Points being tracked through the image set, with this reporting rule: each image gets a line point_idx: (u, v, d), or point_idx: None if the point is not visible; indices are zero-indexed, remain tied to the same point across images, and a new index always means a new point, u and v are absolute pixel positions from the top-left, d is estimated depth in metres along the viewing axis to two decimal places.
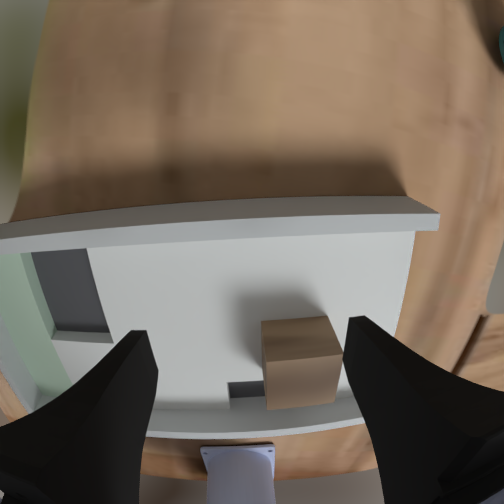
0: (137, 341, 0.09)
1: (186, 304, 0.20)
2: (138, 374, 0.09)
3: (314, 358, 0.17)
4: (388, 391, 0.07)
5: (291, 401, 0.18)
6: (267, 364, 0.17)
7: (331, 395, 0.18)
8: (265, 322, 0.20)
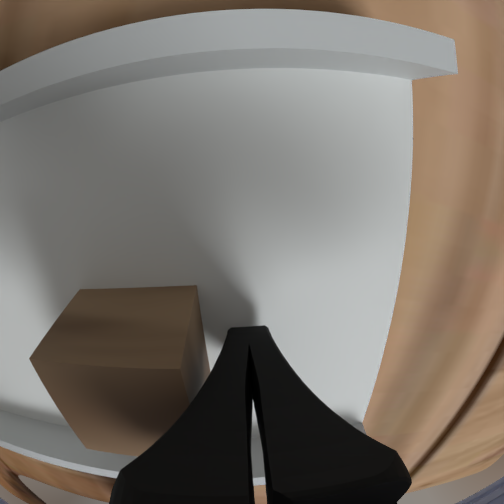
0: (248, 338, 0.09)
1: (10, 257, 0.10)
2: (250, 372, 0.09)
3: (111, 368, 0.07)
4: (260, 410, 0.07)
5: (117, 445, 0.08)
6: (33, 364, 0.07)
7: None
8: (84, 291, 0.10)
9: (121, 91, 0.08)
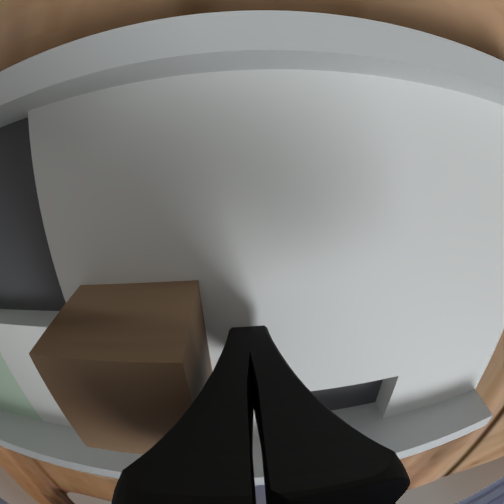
0: (249, 338, 0.09)
1: (211, 241, 0.10)
2: (251, 372, 0.09)
3: (112, 363, 0.07)
4: (258, 410, 0.07)
5: (118, 442, 0.08)
6: (32, 359, 0.07)
7: None
8: (84, 287, 0.10)
9: (393, 84, 0.08)
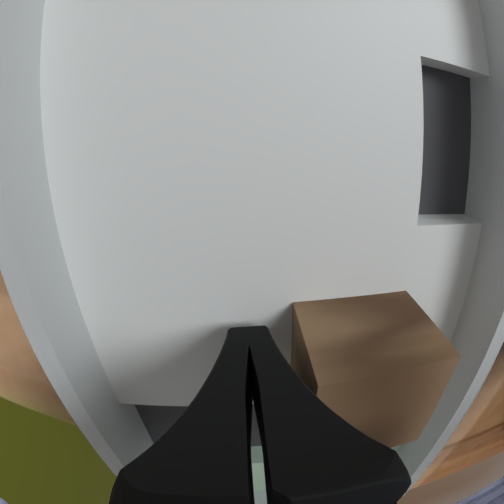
0: (248, 338, 0.09)
1: (210, 291, 0.10)
2: (249, 372, 0.09)
3: None
4: (259, 410, 0.07)
5: (415, 421, 0.08)
6: None
7: (438, 368, 0.07)
8: None
9: (47, 134, 0.08)
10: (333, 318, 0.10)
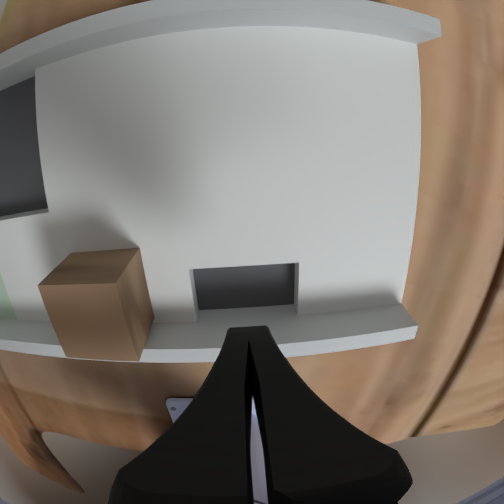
0: (247, 338, 0.09)
1: (135, 136, 0.14)
2: (249, 372, 0.09)
3: (82, 285, 0.13)
4: (260, 410, 0.07)
5: (85, 349, 0.14)
6: (39, 288, 0.12)
7: (129, 350, 0.14)
8: (73, 254, 0.16)
9: (252, 30, 0.12)
10: (137, 276, 0.16)
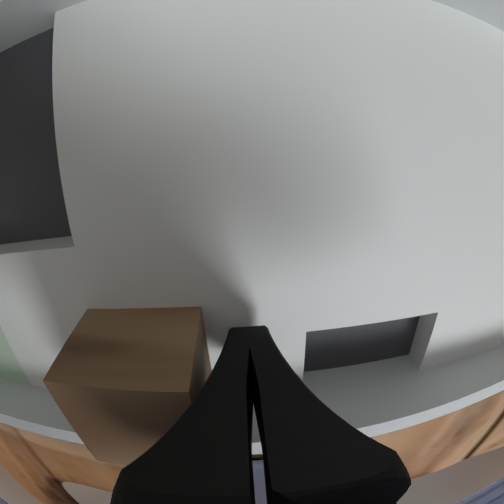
0: (248, 338, 0.09)
1: (242, 126, 0.09)
2: (250, 372, 0.09)
3: (123, 391, 0.07)
4: (259, 410, 0.07)
5: (127, 457, 0.08)
6: (46, 385, 0.07)
7: None
8: (91, 311, 0.10)
9: None
10: (202, 353, 0.10)
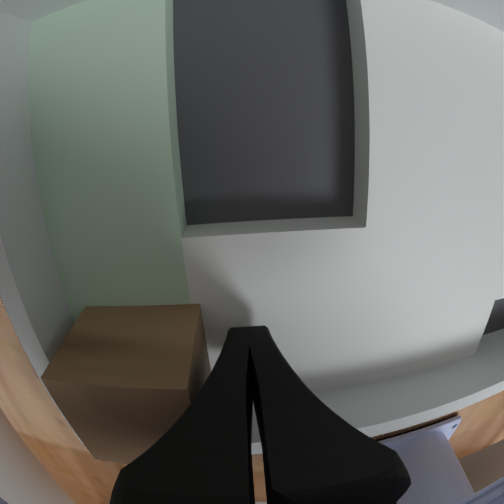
0: (248, 338, 0.09)
1: (497, 144, 0.09)
2: (250, 372, 0.09)
3: (121, 388, 0.07)
4: (260, 410, 0.07)
5: (126, 455, 0.08)
6: (44, 382, 0.07)
7: None
8: (90, 309, 0.10)
9: None
10: (201, 351, 0.10)
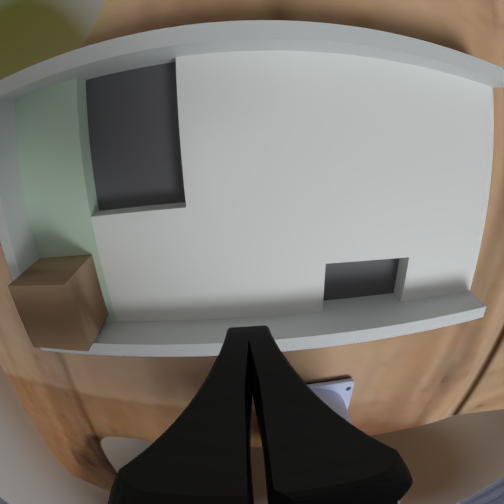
0: (247, 338, 0.09)
1: (293, 142, 0.16)
2: (249, 372, 0.09)
3: (40, 286, 0.14)
4: (260, 410, 0.07)
5: (47, 340, 0.16)
6: (10, 288, 0.14)
7: (80, 341, 0.16)
8: (40, 259, 0.18)
9: (390, 64, 0.14)
10: (89, 279, 0.17)
